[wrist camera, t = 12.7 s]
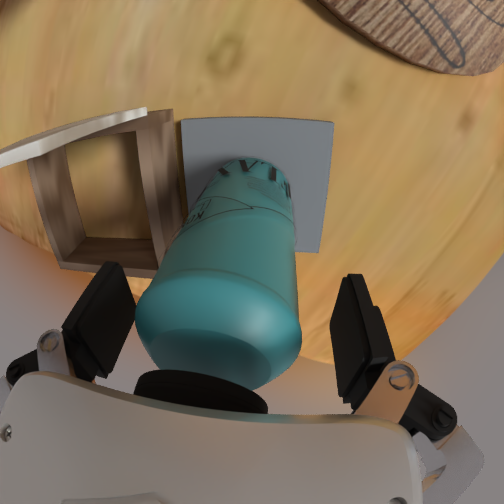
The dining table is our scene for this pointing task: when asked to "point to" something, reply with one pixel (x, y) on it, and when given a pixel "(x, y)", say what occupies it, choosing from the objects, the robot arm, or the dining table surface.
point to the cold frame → (64, 203)
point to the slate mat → (270, 149)
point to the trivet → (431, 31)
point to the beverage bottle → (225, 295)
